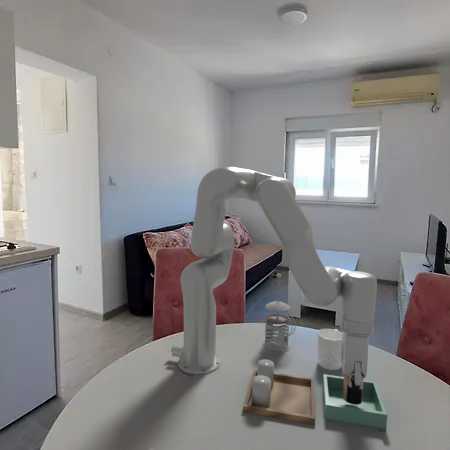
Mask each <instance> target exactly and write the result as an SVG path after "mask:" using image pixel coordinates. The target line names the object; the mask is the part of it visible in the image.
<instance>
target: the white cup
mask: <svg viewBox="0 0 450 450" xmlns="http://www.w3.org/2000/svg"><path fill="white" fill-rule="evenodd" d="M342 336H343V331H341V330H338V329H334V328H333V329H332V328H322V329H319V330H318V331H317V361H318V362H317V363H318V365H319V366H320V367H321V368H323V369H325V370H329V371H337V370H339V369H341V368H342V364H341V347H342Z"/></svg>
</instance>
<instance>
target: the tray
mask: <svg viewBox="0 0 450 450" xmlns="http://www.w3.org/2000/svg"><path fill="white" fill-rule="evenodd" d="M255 376H257V369H253V372H252V375H251V377H250V382H249V385H248V389H247V392H246V395H245V399H244V402H243V406H242V412H243V413H249V414H254V415H259V416H263V417H270V418H276V419H279V420H280V419H281V420H287V421H291V422H298V423H302V424H309V425H314V426H315V425H316V401H315V399H316V398H315V378H313V377H307V376H301V375H294V374H287V373H282V372H280V373H279V372H274V385H273V388H271V394H270V406H269V407H268V408H264V407H258V406H253V404H252V389H253V378H254V377H255Z"/></svg>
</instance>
